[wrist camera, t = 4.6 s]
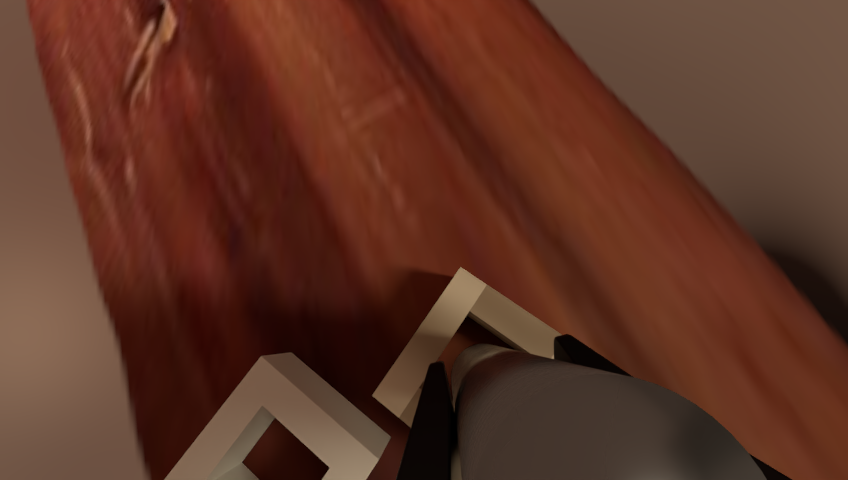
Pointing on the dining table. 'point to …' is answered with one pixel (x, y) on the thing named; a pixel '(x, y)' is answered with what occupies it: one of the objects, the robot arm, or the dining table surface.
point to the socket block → (298, 411)
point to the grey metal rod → (581, 424)
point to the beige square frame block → (441, 325)
